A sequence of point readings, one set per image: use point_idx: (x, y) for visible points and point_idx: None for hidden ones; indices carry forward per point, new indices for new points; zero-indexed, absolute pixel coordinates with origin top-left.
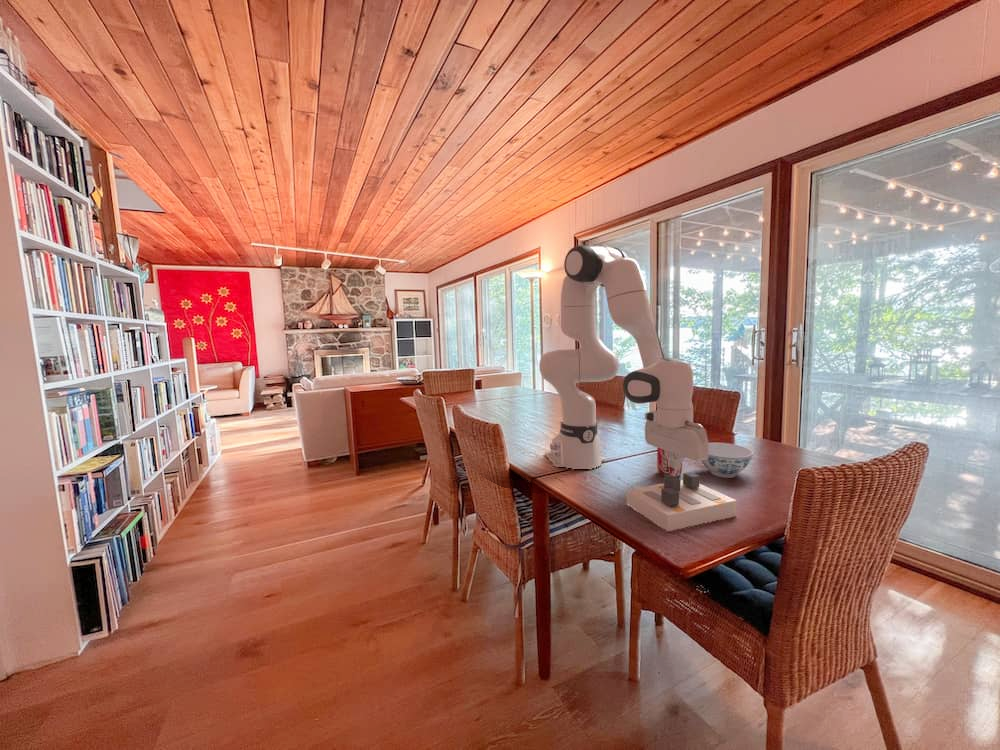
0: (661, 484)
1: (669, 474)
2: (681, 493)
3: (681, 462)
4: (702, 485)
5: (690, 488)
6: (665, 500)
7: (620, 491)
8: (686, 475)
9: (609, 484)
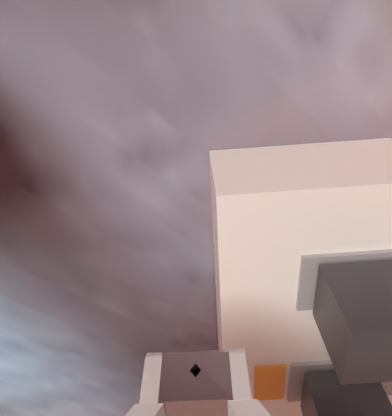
0: None
1: None
2: None
3: (260, 402)
4: (367, 191)
5: None
6: None
7: (96, 396)
8: (375, 377)
9: (11, 401)
